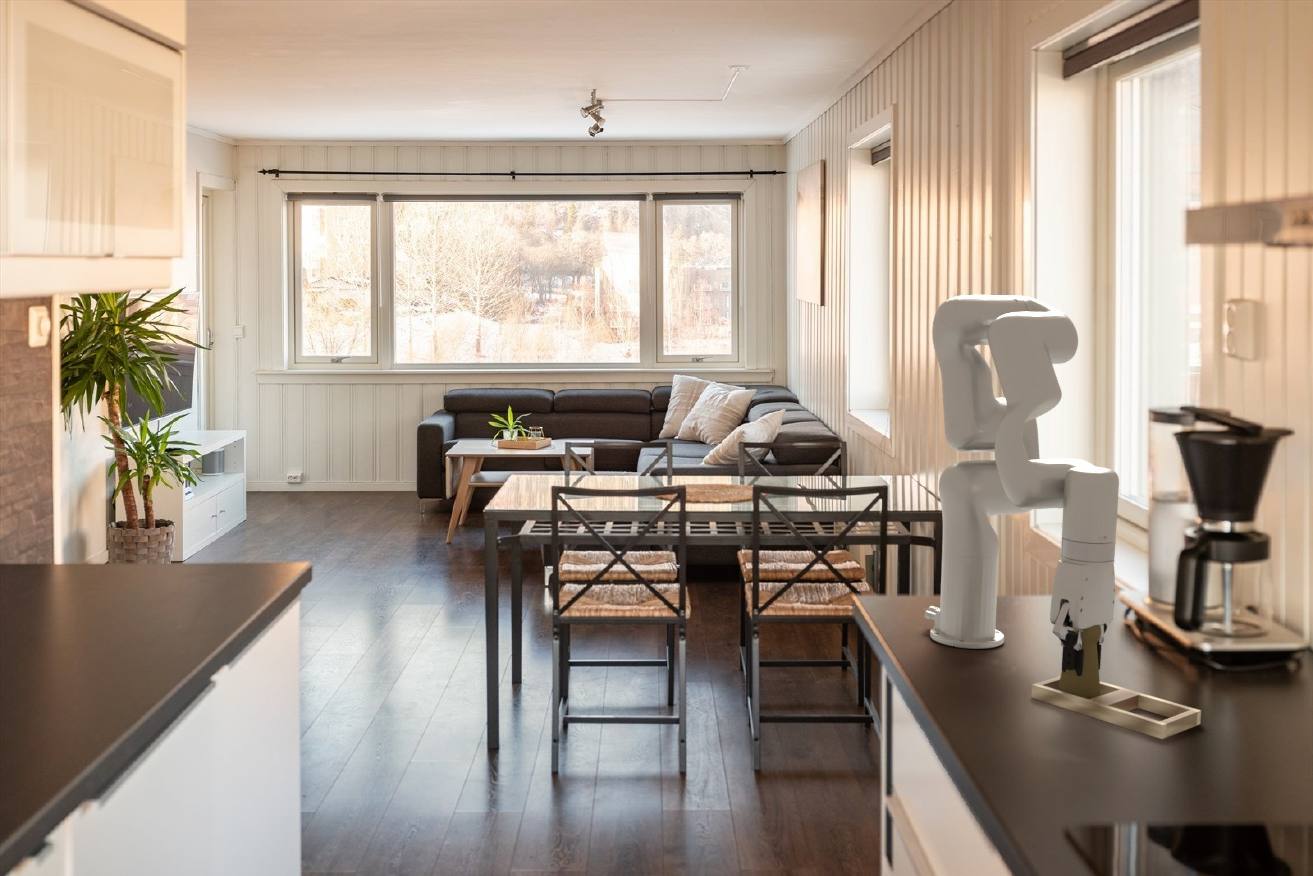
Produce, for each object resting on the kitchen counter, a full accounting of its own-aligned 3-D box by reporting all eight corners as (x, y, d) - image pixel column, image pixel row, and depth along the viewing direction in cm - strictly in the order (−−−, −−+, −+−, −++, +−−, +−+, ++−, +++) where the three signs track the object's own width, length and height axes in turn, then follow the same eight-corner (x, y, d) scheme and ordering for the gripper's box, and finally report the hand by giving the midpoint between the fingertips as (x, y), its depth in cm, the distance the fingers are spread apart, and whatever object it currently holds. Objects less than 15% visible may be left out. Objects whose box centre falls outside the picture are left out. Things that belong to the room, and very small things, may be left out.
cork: (1103, 699, 176) (1108, 626, 175) (1060, 696, 178) (1064, 623, 176) (1097, 686, 182) (1101, 615, 181) (1055, 683, 183) (1059, 613, 182)
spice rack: (1031, 697, 181) (1031, 684, 181) (1070, 685, 187) (1071, 672, 187) (1161, 739, 164) (1162, 725, 164) (1200, 724, 170) (1201, 710, 170)
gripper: (1097, 539, 185) (1090, 655, 188) (1031, 553, 175) (1025, 674, 178) (1142, 548, 179) (1134, 667, 182) (1077, 562, 169) (1069, 688, 172)
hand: (1080, 669), depth 180 cm, fingers closed on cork, 3 cm apart
